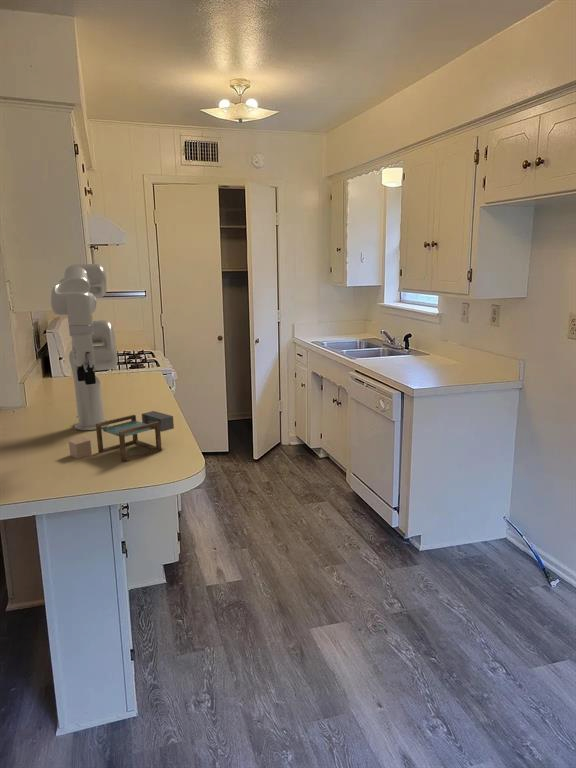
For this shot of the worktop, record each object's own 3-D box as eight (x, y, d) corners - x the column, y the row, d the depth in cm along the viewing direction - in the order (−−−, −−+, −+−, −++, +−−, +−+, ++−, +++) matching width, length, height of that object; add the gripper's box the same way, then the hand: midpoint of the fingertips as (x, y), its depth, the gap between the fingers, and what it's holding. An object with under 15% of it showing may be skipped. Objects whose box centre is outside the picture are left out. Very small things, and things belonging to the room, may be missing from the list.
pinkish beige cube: (70, 455, 184) (68, 441, 183) (84, 451, 188) (82, 437, 187) (77, 458, 181) (75, 444, 180) (91, 454, 184) (90, 440, 183)
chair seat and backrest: (103, 435, 185) (102, 423, 184) (154, 422, 199) (153, 410, 198) (122, 442, 177) (121, 429, 176) (173, 428, 191) (173, 416, 191)
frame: (98, 452, 186) (95, 423, 184) (136, 441, 197) (133, 414, 195) (123, 462, 176) (120, 432, 174) (161, 450, 186) (159, 422, 184)
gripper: (63, 330, 185) (68, 380, 188) (76, 332, 171) (81, 387, 174) (86, 328, 190) (91, 378, 192) (100, 330, 175) (105, 384, 178)
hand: (86, 382), depth 183 cm, fingers open, 9 cm apart
